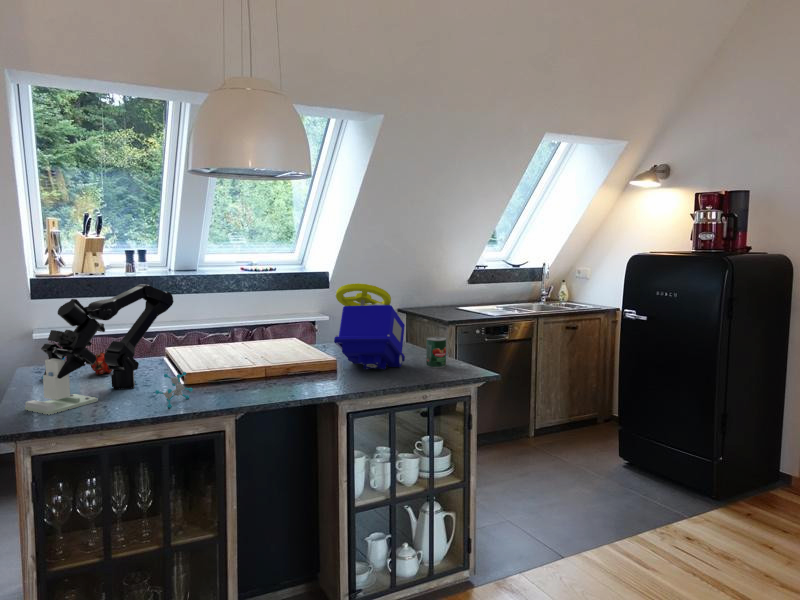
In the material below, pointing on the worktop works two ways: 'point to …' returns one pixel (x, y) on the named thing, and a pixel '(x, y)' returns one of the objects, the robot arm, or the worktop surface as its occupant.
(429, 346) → the canned tomato
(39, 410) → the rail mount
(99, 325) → the robot arm
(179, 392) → the molecular model
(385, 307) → the control box
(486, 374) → the worktop surface
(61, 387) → the block
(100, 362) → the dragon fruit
